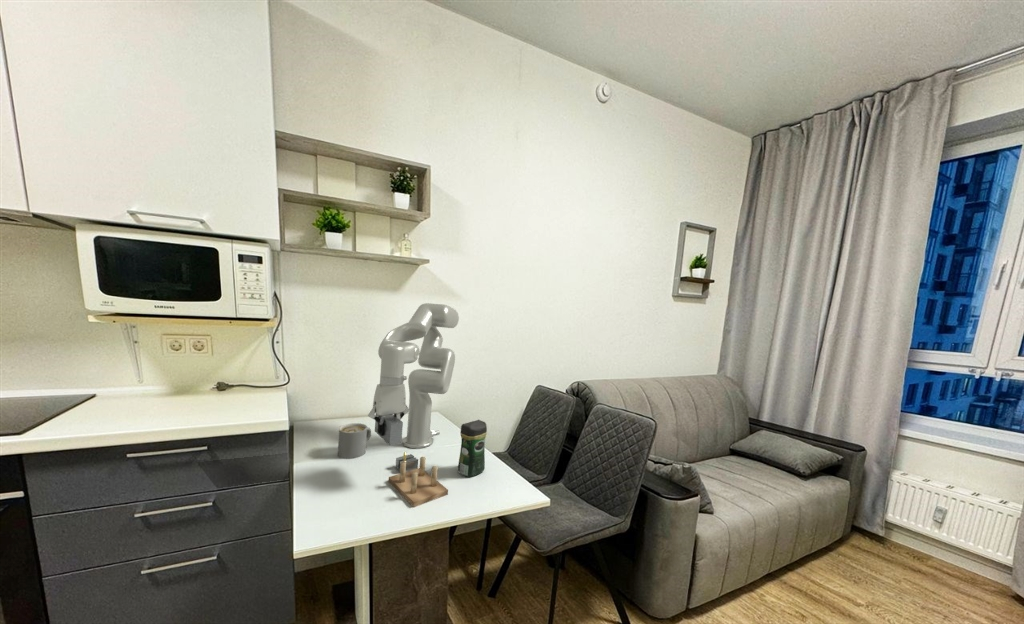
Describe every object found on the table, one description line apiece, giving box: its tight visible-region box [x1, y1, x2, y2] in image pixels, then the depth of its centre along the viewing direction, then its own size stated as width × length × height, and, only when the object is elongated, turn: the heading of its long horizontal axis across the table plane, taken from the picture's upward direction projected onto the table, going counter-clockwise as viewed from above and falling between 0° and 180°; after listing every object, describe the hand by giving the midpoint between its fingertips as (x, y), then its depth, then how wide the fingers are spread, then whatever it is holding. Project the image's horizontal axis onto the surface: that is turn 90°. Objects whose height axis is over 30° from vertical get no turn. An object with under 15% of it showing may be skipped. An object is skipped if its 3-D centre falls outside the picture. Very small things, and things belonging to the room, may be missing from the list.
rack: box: [388, 456, 449, 508], centre depth 115 cm, size 12×18×8 cm, turn 43°
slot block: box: [395, 451, 419, 472], centre depth 128 cm, size 6×5×6 cm
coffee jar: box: [457, 419, 488, 478], centre depth 129 cm, size 10×8×19 cm
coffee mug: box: [337, 422, 372, 460], centre depth 138 cm, size 13×10×10 cm
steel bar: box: [374, 413, 404, 446], centre depth 120 cm, size 4×14×7 cm, turn 40°
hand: (387, 432), depth 120 cm, fingers closed on steel bar, 4 cm apart
